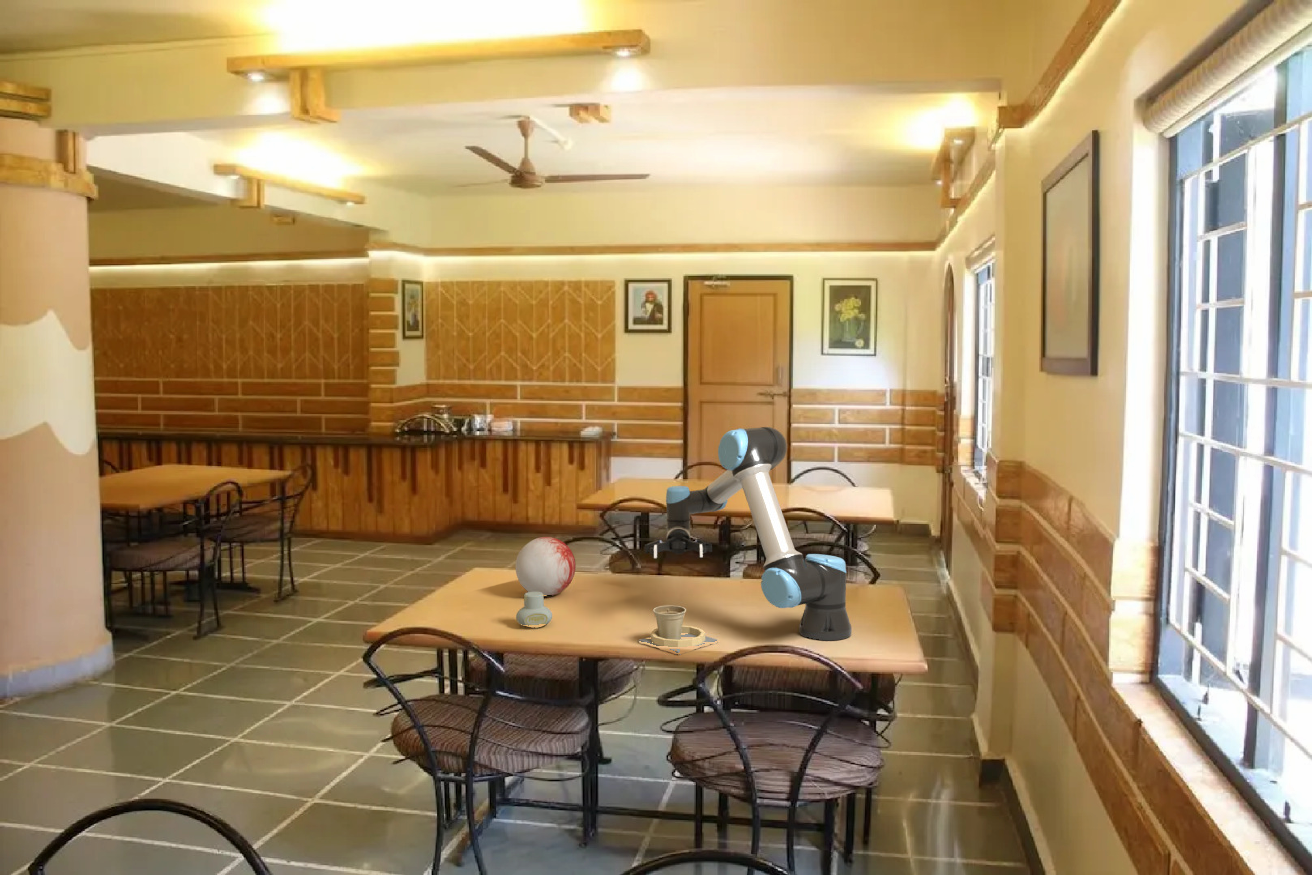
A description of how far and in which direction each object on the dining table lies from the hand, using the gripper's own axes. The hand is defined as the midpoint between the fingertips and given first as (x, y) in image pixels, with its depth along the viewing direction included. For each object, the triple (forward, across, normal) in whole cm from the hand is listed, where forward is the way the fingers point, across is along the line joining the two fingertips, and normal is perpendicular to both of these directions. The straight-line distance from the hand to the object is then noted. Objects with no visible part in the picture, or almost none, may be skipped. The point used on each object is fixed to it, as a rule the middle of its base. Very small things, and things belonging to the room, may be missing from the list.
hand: (678, 553), depth 305 cm
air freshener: (-7, +44, -23) cm, 51 cm away
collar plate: (+11, 0, -24) cm, 26 cm away
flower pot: (+11, +3, -23) cm, 26 cm away
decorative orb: (-44, +46, -22) cm, 67 cm away
